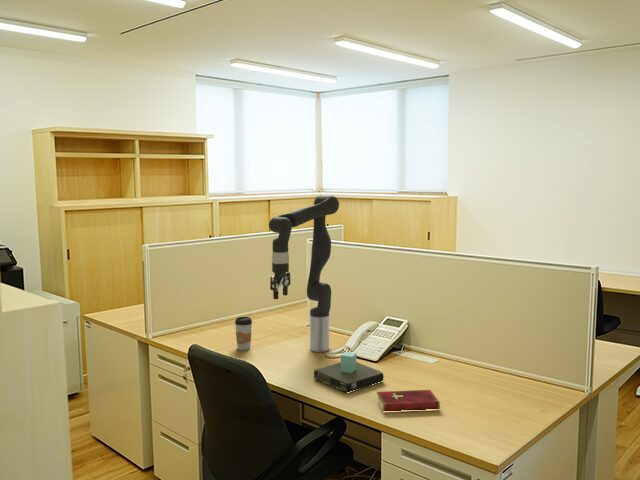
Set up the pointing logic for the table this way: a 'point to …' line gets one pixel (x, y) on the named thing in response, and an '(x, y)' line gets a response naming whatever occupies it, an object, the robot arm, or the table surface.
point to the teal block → (348, 362)
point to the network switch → (348, 377)
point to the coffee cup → (243, 332)
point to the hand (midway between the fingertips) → (280, 297)
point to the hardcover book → (408, 400)
